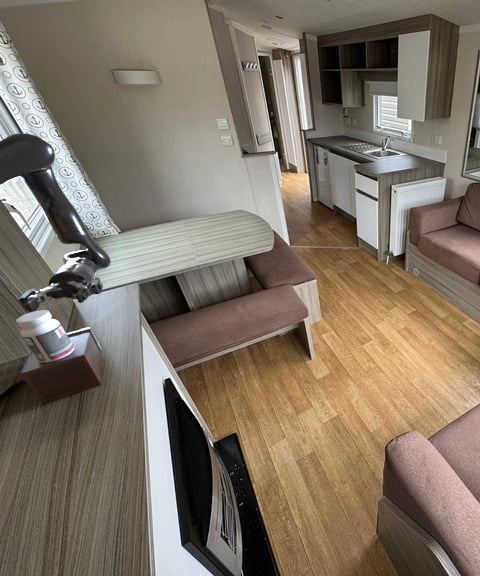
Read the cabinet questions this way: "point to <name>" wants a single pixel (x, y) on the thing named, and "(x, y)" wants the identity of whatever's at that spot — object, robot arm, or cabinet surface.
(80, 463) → the cabinet surface
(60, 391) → the cabinet
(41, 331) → the pill bottle
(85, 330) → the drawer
